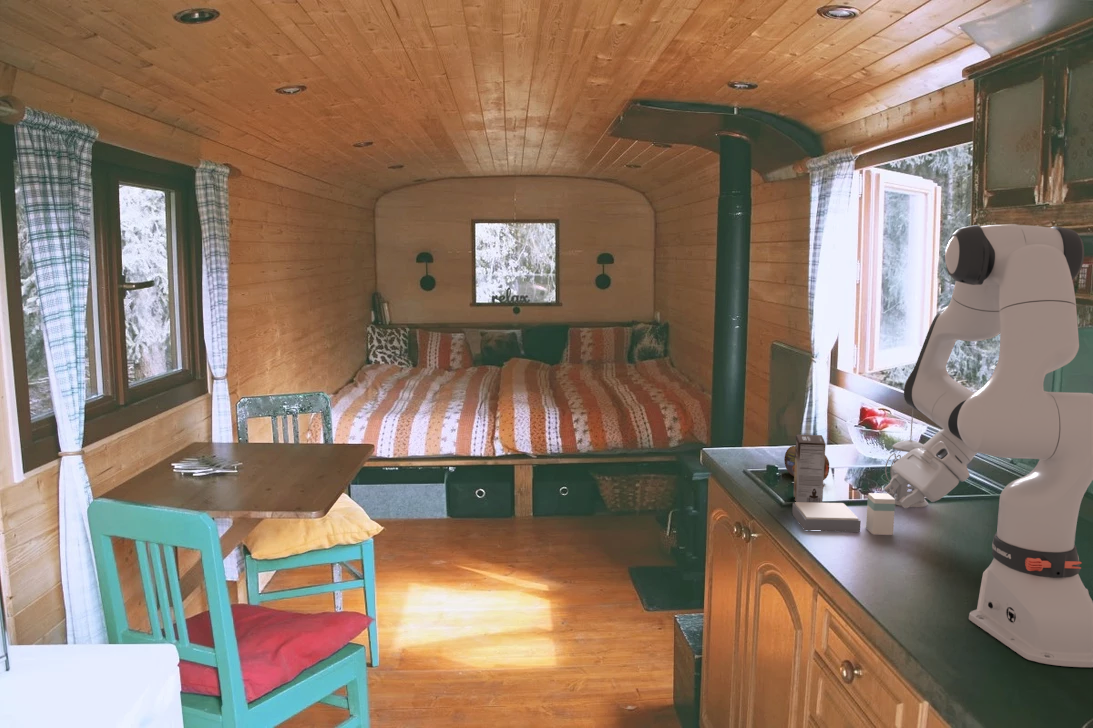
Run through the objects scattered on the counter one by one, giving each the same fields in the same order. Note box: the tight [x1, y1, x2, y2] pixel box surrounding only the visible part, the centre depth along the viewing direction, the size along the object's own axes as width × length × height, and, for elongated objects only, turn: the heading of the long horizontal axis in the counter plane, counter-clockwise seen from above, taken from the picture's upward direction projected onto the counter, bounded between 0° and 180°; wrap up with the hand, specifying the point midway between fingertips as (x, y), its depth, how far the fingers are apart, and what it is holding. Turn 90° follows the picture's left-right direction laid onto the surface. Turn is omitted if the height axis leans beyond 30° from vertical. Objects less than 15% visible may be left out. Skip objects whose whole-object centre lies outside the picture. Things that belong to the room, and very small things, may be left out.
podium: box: [791, 501, 862, 533], centre depth 189 cm, size 12×12×3 cm
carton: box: [865, 492, 896, 536], centre depth 183 cm, size 4×4×8 cm
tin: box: [784, 445, 830, 481], centre depth 226 cm, size 15×3×8 cm, turn 25°
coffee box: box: [793, 434, 826, 503], centre depth 204 cm, size 9×6×16 cm
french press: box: [884, 405, 929, 508], centre depth 204 cm, size 10×12×25 cm
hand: (894, 498), depth 183 cm, fingers open, 8 cm apart
